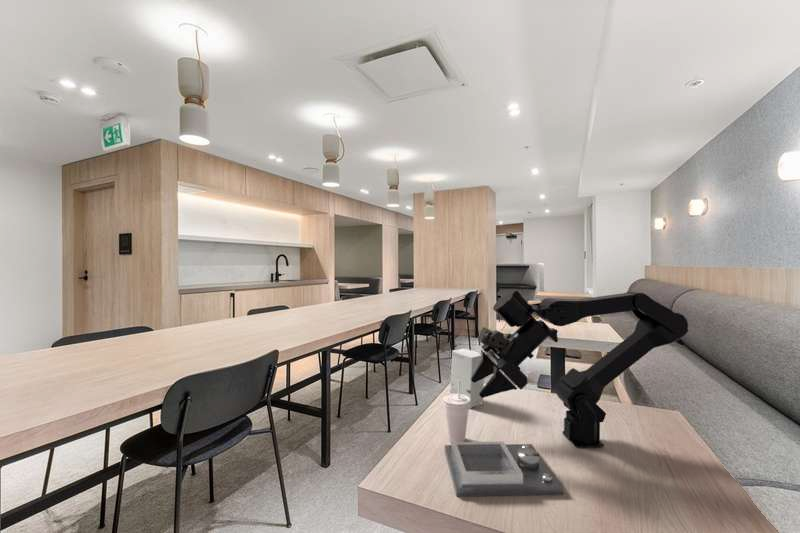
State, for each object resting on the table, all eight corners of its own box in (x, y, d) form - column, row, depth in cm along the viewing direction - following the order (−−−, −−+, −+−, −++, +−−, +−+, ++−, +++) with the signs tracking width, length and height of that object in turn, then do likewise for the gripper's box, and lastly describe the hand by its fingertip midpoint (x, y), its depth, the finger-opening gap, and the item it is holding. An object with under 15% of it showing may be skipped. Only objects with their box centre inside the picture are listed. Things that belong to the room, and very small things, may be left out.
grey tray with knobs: (531, 450, 75) (531, 435, 75) (563, 494, 61) (563, 475, 61) (444, 452, 75) (444, 436, 75) (456, 496, 61) (456, 476, 61)
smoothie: (470, 448, 76) (470, 385, 76) (441, 445, 77) (441, 383, 77) (470, 434, 82) (470, 376, 82) (443, 431, 84) (443, 374, 83)
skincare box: (449, 400, 102) (449, 350, 102) (463, 395, 106) (463, 347, 106) (471, 409, 96) (471, 356, 95) (485, 404, 99) (485, 353, 99)
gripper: (489, 310, 88) (446, 352, 89) (512, 323, 70) (457, 377, 70) (520, 340, 88) (477, 383, 89) (551, 362, 70) (496, 416, 70)
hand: (476, 388), depth 79 cm, fingers open, 9 cm apart
